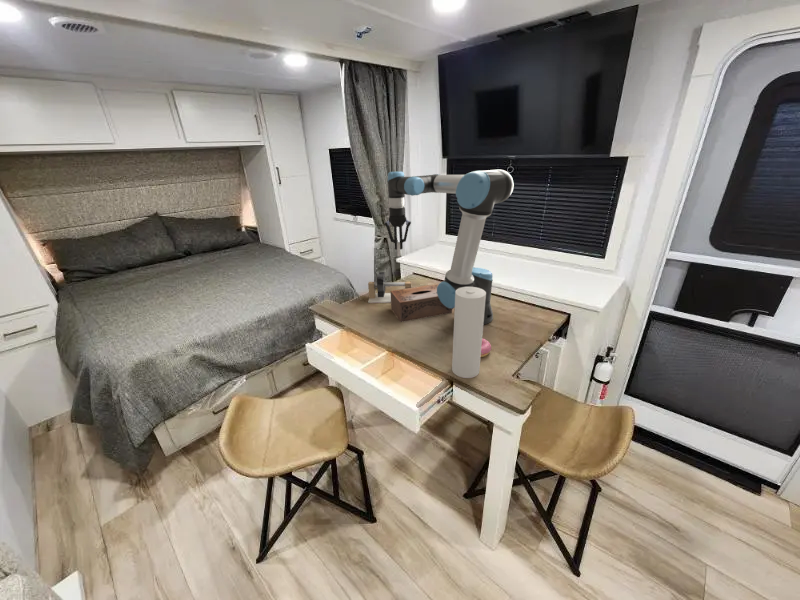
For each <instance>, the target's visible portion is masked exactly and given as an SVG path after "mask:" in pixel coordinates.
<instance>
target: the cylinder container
mask: <svg viewBox="0 0 800 600" xmlns="http://www.w3.org/2000/svg"><path fill="white" fill-rule="evenodd" d="M485 299H486V292H485V291H484V290H483V289H480V288H477V287H461V288H458V289H457V290H456V291H455V308H454V314H453V316H454V317H453V318H454V320H453V338H452V339H453V340H452V360H451V371H452V372H453V374H454V375H456V376H457V377H460V378H464V379H472V378H475V377H477V376H478V375H479V374H480V367H481V366H480V365H481V358H482V357H481V345H482V338H483V334H484V324H483V322H484V311H485Z"/></svg>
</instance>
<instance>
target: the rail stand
mask: <svg viewBox="0 0 800 600" xmlns="http://www.w3.org/2000/svg"><path fill="white" fill-rule="evenodd" d="M367 285H368V289H367V290H368V302H367V304H391V292H385V294H384V297H378V292H376V287H377V282H375V281H368V284H367ZM384 286H385V287H404V289H407V288H412V281H403V282H401V281H398V282H395V281H394V282H389V281H388V282H386V281H385V283H384Z"/></svg>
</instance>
